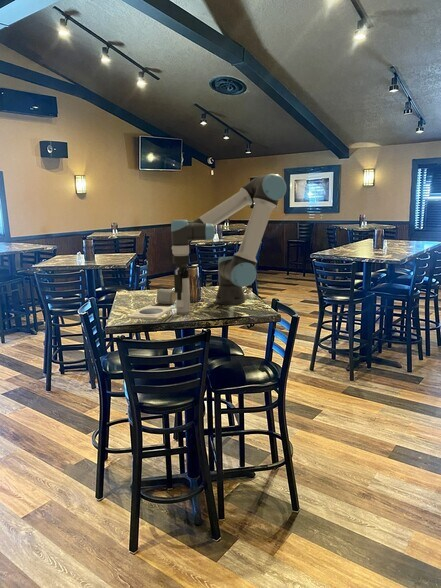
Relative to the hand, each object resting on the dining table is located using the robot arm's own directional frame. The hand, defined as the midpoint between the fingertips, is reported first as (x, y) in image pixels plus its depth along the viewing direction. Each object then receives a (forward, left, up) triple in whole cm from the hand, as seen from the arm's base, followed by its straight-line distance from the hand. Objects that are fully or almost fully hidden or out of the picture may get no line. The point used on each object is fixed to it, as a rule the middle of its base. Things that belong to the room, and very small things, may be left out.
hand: (182, 304), depth 200 cm
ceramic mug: (+15, -18, -4) cm, 24 cm away
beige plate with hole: (+15, +2, -4) cm, 16 cm away
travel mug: (0, 0, -4) cm, 4 cm away
